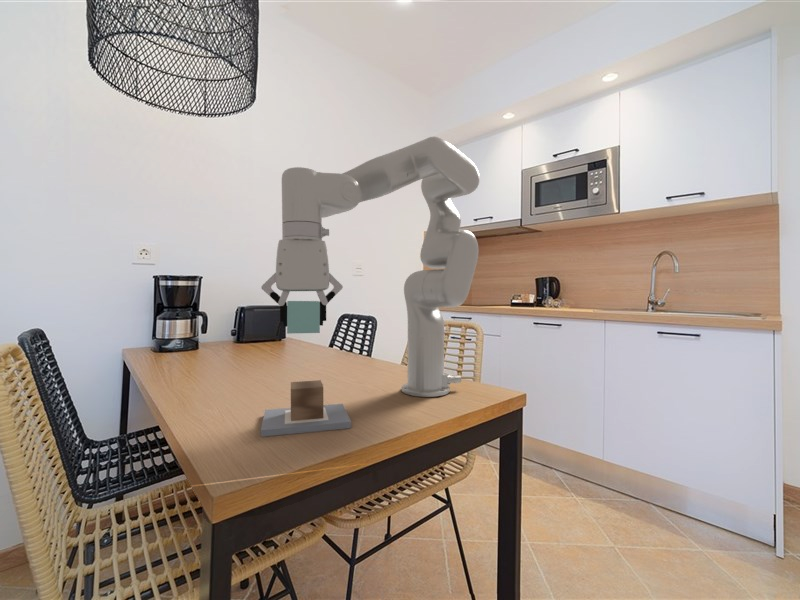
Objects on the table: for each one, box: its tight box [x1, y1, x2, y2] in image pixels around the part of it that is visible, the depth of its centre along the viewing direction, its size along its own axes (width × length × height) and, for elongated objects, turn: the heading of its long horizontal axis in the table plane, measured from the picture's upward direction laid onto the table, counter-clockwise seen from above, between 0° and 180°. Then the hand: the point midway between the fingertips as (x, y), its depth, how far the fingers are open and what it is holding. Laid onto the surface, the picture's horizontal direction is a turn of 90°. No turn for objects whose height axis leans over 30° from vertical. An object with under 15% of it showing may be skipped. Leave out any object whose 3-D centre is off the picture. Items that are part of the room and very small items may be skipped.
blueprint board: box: [260, 403, 352, 438], centre depth 74 cm, size 16×12×1 cm
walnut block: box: [290, 379, 324, 421], centre depth 74 cm, size 6×6×6 cm
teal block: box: [286, 300, 321, 334], centre depth 74 cm, size 6×6×6 cm
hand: (303, 324), depth 74 cm, fingers closed on teal block, 6 cm apart
